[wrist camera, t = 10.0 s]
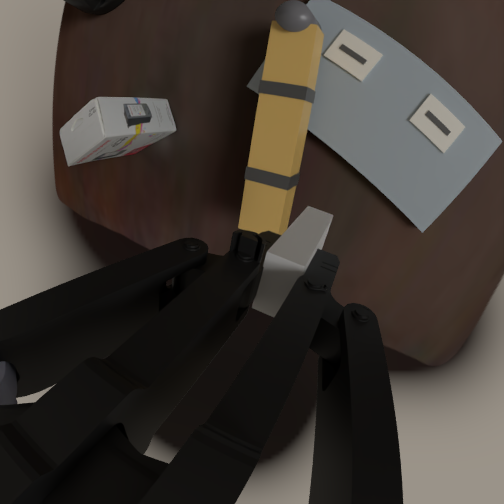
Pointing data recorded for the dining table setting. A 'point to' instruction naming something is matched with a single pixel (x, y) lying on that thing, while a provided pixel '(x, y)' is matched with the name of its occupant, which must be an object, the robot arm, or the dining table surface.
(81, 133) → the ink box
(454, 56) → the dining table surface
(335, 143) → the power panel
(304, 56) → the banded tan post
